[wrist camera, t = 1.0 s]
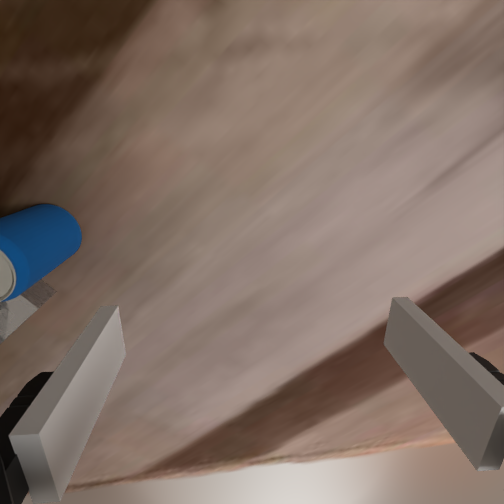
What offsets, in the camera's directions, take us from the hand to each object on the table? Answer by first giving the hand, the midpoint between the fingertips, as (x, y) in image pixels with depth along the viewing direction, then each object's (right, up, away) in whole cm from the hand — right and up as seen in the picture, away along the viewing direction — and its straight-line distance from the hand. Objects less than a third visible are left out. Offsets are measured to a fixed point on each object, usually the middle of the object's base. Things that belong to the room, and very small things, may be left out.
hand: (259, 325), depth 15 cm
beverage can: (-23, +6, +21) cm, 32 cm away
